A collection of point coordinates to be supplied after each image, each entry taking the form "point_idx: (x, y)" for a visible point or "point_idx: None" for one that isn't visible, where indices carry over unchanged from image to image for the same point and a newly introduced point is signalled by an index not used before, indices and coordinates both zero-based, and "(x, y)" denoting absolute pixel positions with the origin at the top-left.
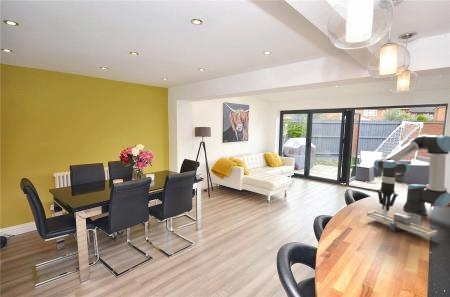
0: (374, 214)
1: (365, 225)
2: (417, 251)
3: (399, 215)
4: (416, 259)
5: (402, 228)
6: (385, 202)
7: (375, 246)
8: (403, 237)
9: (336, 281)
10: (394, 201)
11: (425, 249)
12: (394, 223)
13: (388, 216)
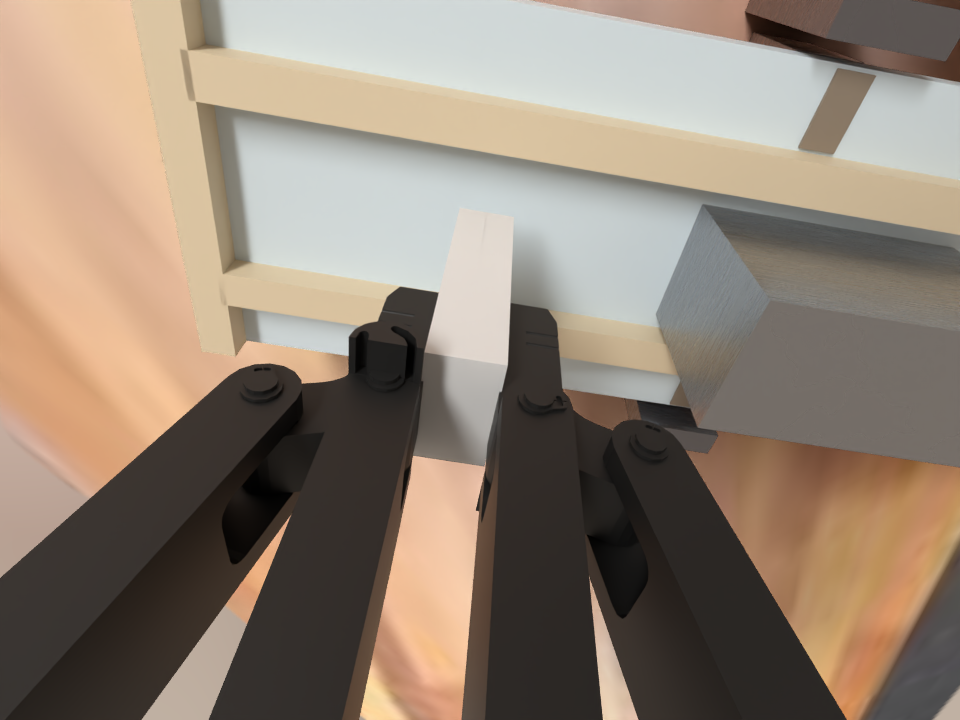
0: (318, 317)
1: None
2: (865, 566)
3: (814, 443)
4: (835, 644)
5: None
6: (401, 485)
7: None
8: None
9: None
10: (808, 660)
11: (951, 504)
12: (692, 443)
13: (532, 157)
